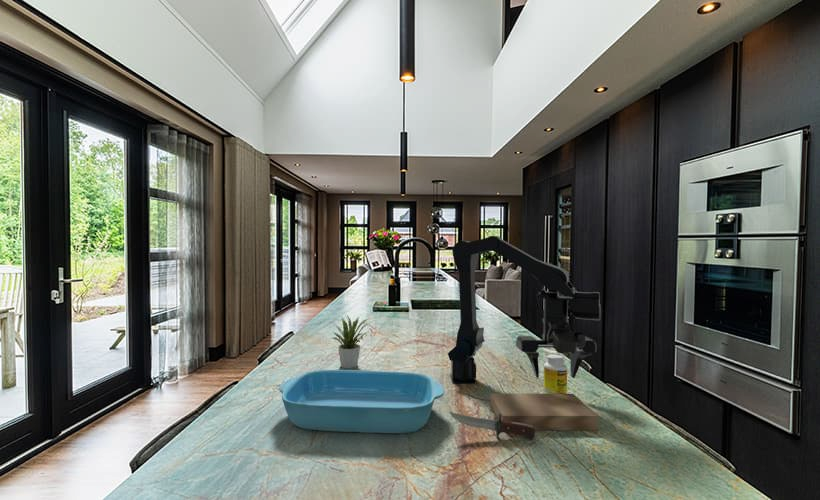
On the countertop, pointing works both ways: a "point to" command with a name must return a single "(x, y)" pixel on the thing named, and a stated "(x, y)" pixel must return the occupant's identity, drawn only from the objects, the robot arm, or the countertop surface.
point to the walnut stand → (544, 411)
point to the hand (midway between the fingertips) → (554, 377)
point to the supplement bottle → (555, 375)
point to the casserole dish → (360, 400)
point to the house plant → (349, 343)
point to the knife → (497, 425)
